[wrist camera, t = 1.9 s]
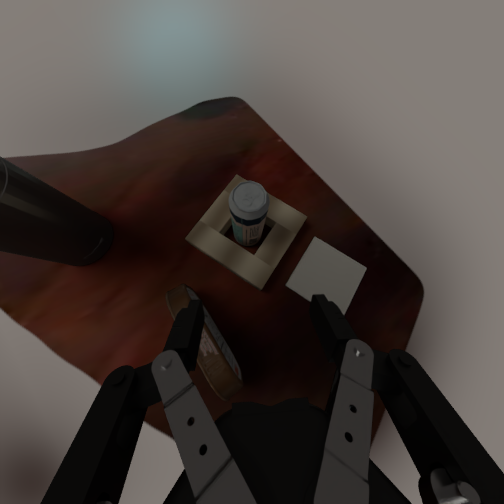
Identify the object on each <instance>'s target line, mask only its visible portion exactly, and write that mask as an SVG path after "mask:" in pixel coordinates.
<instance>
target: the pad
mask: <svg viewBox="0 0 504 504" xmlns="http://www.w3.org/2000/svg"><path fill="white" fill-rule="evenodd" d="M366 269H367V268H366V267H364V266H363V265H361V264H359V263H358V262H356V261H355V260H353V259H351V258H350V257H348V256H346V255H345V254H343V253H341V252H340V251H338V250H336V249H335V248H333V247H331V246H330V245H328V244H327V243H325V242H323V241H322V240H320V239H318V238H317V237H314V238H313V240H312V241H311V243H310V245H309V246H308V248H307V250H306V251H305V253H304V255H303V256H302V258H301V260H300V261H299V263H298V265H297V266H296V268H295V270H294V271H293V273H292V275H291V276H290V278H289V280H288V281H287V283H286V285H285V286H287V287H288V288H290V289H291V290H293V291H294V292H296V293H298V294H299V295H301V296H302V297H304V298H305V299H307V300H308V301H310V302H311V299H312V295H313V294H324V295H325V296H326V298H327V300H328V301H333V302H334V303H335V304H336V305H337V306H338V307H339V308H340V310H341V312H342V314H343V315H344V314H345V312H346V310H347V308H348V306H349V304H350V302H351V300H352V298H353V296H354V294H355V292H356V290H357V288H358V286H359V283H360V281H361V279H362V277H363V275H364V273H365V271H366Z"/></svg>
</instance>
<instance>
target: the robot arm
mask: <svg viewBox="0 0 504 504" xmlns="http://www.w3.org/2000/svg"><path fill="white" fill-rule="evenodd" d="M112 239H113V230H112V226H111V224H110V223H109V221H108V220H107V219H106V218H104V217H103V216H101V215H99V214H98V213H96V212H94V211H92V210H91V209H89V208H87V207H86V206H84V205H82V204H81V203H79V202H77V201H76V200H74V199H72V198H70V197H69V196H67V195H65V194H64V193H62V192H60V191H58V190H57V189H55V188H53V187H52V186H50V185H48V184H46V183H45V182H43V181H41V180H40V179H38V178H36V177H35V176H33V175H31V174H29V173H28V172H26V171H24V170H23V169H21V168H19V167H17V166H16V165H14V164H12V163H11V162H9V161H7V160H5V159H4V158H2V157H0V251H2V252H7V253H12V254H17V255H22V256H27V257H32V258H37V259H42V260H47V261H52V262H57V263H63V264H68V265H73V266H83V265H87V264H90V263H92V262H95V261H96V260H98V259H99V258H101V257H102V256H103V255H104V254H105V253H106V251H107V250H108V249H109V247H110V245H111V243H112ZM309 314H310V318H311V320H312V323H313V325H314V328H315V330H316V332H317V335H318V337H319V340H320V342H321V345H322V347H323V349H324V352H325V354H326V357H327V359H328V362H335V363H336V366H337V368H336V371H335V375H334V379H333V383H332V387H331V391H330V395H329V398H328V402H327V404H326V408H325V411H323V410H322V409H321V408H319V407H317V406H315V405H312V404H309V402H308V398H293V399H288V400H285V401H283V402H281V403H278V404H276V405H274V406H266V405H262V404H258V403H254V402H240V403H232V409H231V410H228V411H227V412H225V413H223V414H222V415H221V416H220V417H219V418H218V419H217V420H216V421H215V422H214V421H213V419H212V417H211V415H210V413H209V412H208V410H207V408H206V406H205V404H204V402H203V400H202V398H201V396H200V394H199V392H198V390H197V388H196V386H195V385H194V383H193V382H192V380H191V379H190V377H189V371H195V367H196V362H197V357H198V352H199V347H200V342H201V337H202V332H203V327H204V321H205V314H204V309H203V304H202V300H201V299H197V300H190V301H189V304H188V307H187V308H182V309H181V310H180V311H179V312H178V313H177V315H176V318H175V321H174V323H173V326H172V329H171V331H170V334H169V337H168V339H167V342H166V345H165V347H164V350H163V352H162V353H161V354H159V355H158V356H157V357H156V358H155V360H154V361H153V362H151V363H149V364H146V365H144V366H141V367H138V368H136V369H133V367H131V366H128V365H125V366H121V367H119V368H117V369H115V370H114V371H113V372H111V373H110V374H109V375H108V376H107V378H106V379H105V381H104V383H103V385H102V386H101V388H100V391H99V392H98V394H97V396H96V398H95V400H94V402H93V404H92V406H91V408H90V410H89V412H88V413H87V415H86V417H85V419H84V421H83V423H82V425H81V427H80V429H79V431H78V433H77V434H76V437H75V438H74V440H73V442H72V444H71V446H70V448H69V450H68V452H67V454H66V456H65V457H64V459H63V461H62V463H61V465H60V467H59V469H58V471H57V473H56V475H55V477H54V479H53V480H52V482H51V484H50V486H49V488H48V490H47V492H46V494H45V496H44V498H43V500H42V502H41V504H118V503H119V500H120V497H121V494H122V490H123V487H124V484H125V480H126V477H127V474H128V470H129V467H130V464H131V460H132V457H133V454H134V451H135V447H136V444H137V441H138V437H139V434H140V431H141V427H142V424H143V421H144V418H145V414H146V411H147V408H148V407H149V406H151V405H153V404H155V403H158V402H160V401H163V404H164V410H165V413H166V416H167V419H168V422H169V425H170V428H171V430H172V433H173V436H174V439H175V442H176V445H177V448H178V450H179V453H180V456H181V459H182V462H183V464H184V468H185V469H184V470H183V472H182V474H181V475H180V477H179V478H178V480H177V482H176V483H175V485H174V487H173V488H172V490H171V491H170V493H169V494H168V496H167V498H166V499H165V501H164V503H163V504H411V502H410V501H409V500H408V499H407V498H406V497H405V496H404V495H403V494H402V493H401V492H400V491H399V490H398V488H397V487H396V486H395V485H394V484H393V483H392V482H391V481H390V480H389V479H388V478H387V477H386V476H385V475H384V473H383V472H382V471H381V470H380V469H379V468H378V467H377V466H376V465H375V464H374V463H373V461H372V460H371V459H370V458H369V453H370V440H371V427H372V414H373V401H374V393H373V391H372V390H371V388H373V389H376V390H377V392H378V394H379V396H380V398H381V400H382V401H383V403H384V405H385V407H386V409H387V411H388V413H389V415H390V417H391V419H392V421H393V423H394V425H395V427H396V429H397V431H398V433H399V434H400V437H401V438H402V441H403V443H404V444H405V446H406V448H407V450H408V452H409V454H410V456H411V458H412V460H413V462H414V464H415V466H416V468H417V470H418V472H419V474H420V476H421V477H420V479H419V482H418V483H419V484H418V487H419V492H420V496H421V498H422V502H423V504H504V474H503V472H502V471H501V469H500V468H499V467H498V466H497V464H496V463H495V462H494V460H493V459H492V458H491V457H490V455H489V454H488V453H487V451H486V450H485V449H484V447H483V446H482V445H481V443H480V442H479V441H478V440H477V438H476V437H475V436H474V435H473V433H472V432H471V430H470V429H469V428H468V427H467V425H466V424H465V423H464V421H463V420H462V419H461V417H460V416H459V415H458V414H457V412H456V411H455V410H454V408H453V407H452V406H451V404H450V403H449V402H448V401H447V399H446V398H445V397H444V395H443V394H442V393H441V391H440V390H439V389H438V387H437V386H436V385H435V384H434V382H433V381H432V380H431V378H430V377H429V376H428V374H427V373H426V372H425V371H424V369H423V368H422V367H421V365H420V364H419V363H418V361H417V360H416V359H415V358H414V357H413V356H412V355H410V354H409V353H407V352H405V351H403V350H400V349H393V350H391V351H390V352H389V353H385V352H380V351H376V350H373V349H371V348H370V347H369V346H368V345H367V344H366V343H364V342H363V341H360V340H359V339H358V338H357V336H356V334H355V333H354V331H353V330H352V328H351V326H350V325H349V323H348V321H347V320H346V319H345V317H344V315H343V314H342V312H341V310H340V308H339V307H338V306H337V305H336V304H335V303H334V302H333V301H328V300H327V298H326V296H325V295H324V294H313V295H312V299H311V303H310V308H309Z"/></svg>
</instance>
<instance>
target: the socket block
mask: <svg viewBox="0 0 504 504" xmlns="http://www.w3.org/2000/svg"><path fill="white" fill-rule="evenodd" d="M246 181H247V180H245V179H243V178H242V177H240V176H238V175H236V176H235V177H234V178H233V180H232V181H231V182H230V183H229V185H228V186H227V187H226V188H225V190H224V191H223V192H222V193H221V195H220V196H219V197H218V198H217V200H216V201H215V202H214V203H213V204H212V206H211V207H210V208H209V209H208V211H207V212H206V213H205V214H204V216H203V217H202V218H201V219H200V221H199V222H198V223H197V224H196V225H195V227H194V228H193V229H192V230H191V232H190V233H189V234H188V235H187V237H186V238H185V239H186V240H187V241H188V242H189V243H190V244H191V245H192V246H194V247H195V248H197V249H198V250H200V251H201V252H203V253H204V254H206V255H207V256H209V257H210V258H212V259H213V260H215V261H216V262H218V263H219V264H221V265H222V266H224V267H225V268H227V269H228V270H230V271H231V272H233V273H234V274H236V275H237V276H239V277H240V278H242V279H243V280H245V281H246V282H248V283H249V284H251V285H252V286H254V287H255V288H257V289H258V290H259V291H260V290H262V288H263V287H264V285H265V283H266V282H267V280H268V279H269V277H270V275H271V274H272V272H273V271H274V269H275V267H276V266H277V264H278V263H279V261H280V260H281V258H282V256H283V255H284V253H285V252H286V250H287V248H288V247H289V245H290V244H291V242H292V241H293V239H294V237H295V236H296V234H297V233H298V231H299V229H300V228H301V226H302V225H303V223H304V221H305V220H306V218H307V216H305V215H304V214H302V213H300V212H299V211H297V210H295V209H294V208H292V207H290V206H289V205H287V204H285V203H284V202H282V201H280V200H279V199H277V198H275V197H273V196H272V195H270V194H268V195H269V199H270V205H269V208H268V212H267V216H266V220H265V224H266V225H268V226H269V227H271V228H272V230H271V231H270V233H269V234H268V236H267V237H266V239H265V240H264V242H263V243H262V244H261V246H260V247H259V249H258V250H257V252H256V253H255V255H253V254H251V253H250V252H248V251H246V250H245V249H243V248H242V247H240V246H239V245H237V244H236V243H234V242H233V241H231V240H230V239H228V238H226V237H225V236H224V234H225V233H226V232H227V230H228V229H229V228H230V226H231V225H232V220H231V214H230V209H229V196H230V193H231V192H232V190H233V189H234V188H235V187H236V186H237V185H238V184H239V183H240V182H246Z"/></svg>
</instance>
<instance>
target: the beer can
mask: <svg viewBox="0 0 504 504" xmlns="http://www.w3.org/2000/svg"><path fill="white" fill-rule="evenodd" d="M269 205H270V199H269V195H268V193H267V192H266V190H265V189H264V188H263V187H262V185H261V184H258V183H256V182H253V181H246V182H240V183H239V184H238V185H237V186H236V187H235V188H234V189H233V190H232V192H231V193H230V196H229V209H230V214H231V220H232V226H233V232H234V237H235V239H236V241H237V242H238V243H239V244H241V245H244V246H252V245H255V244H256V243H258V241H259V240H260V239H261V235H262V231H263V227H264V224H265V220H266V216H267V212H268V208H269Z"/></svg>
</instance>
